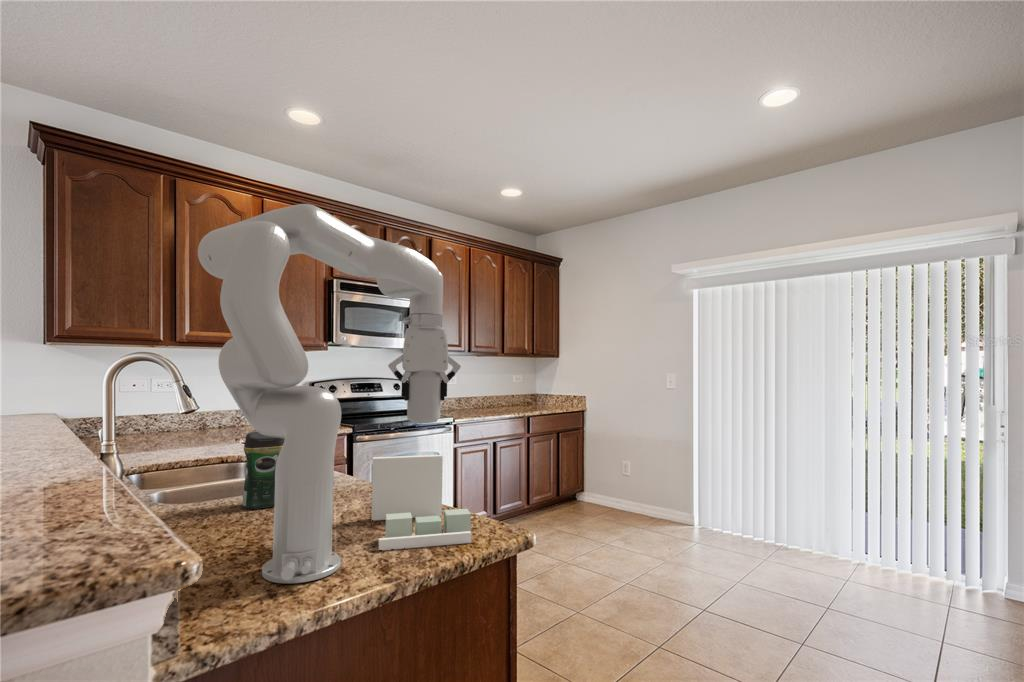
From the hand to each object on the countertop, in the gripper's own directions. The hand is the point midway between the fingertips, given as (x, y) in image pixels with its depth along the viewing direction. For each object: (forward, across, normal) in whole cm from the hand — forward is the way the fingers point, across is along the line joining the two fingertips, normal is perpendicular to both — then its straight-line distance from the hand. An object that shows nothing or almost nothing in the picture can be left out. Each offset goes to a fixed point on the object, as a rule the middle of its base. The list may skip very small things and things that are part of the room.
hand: (424, 399), depth 118 cm
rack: (+28, -1, -5) cm, 28 cm away
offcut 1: (+28, -6, -11) cm, 30 cm away
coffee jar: (+28, -37, +24) cm, 52 cm away
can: (+5, 0, 0) cm, 5 cm away
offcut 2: (+28, +6, -11) cm, 30 cm away
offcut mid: (+28, 0, -11) cm, 30 cm away
